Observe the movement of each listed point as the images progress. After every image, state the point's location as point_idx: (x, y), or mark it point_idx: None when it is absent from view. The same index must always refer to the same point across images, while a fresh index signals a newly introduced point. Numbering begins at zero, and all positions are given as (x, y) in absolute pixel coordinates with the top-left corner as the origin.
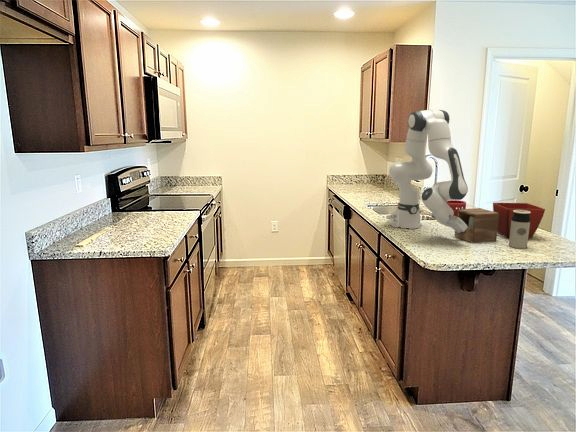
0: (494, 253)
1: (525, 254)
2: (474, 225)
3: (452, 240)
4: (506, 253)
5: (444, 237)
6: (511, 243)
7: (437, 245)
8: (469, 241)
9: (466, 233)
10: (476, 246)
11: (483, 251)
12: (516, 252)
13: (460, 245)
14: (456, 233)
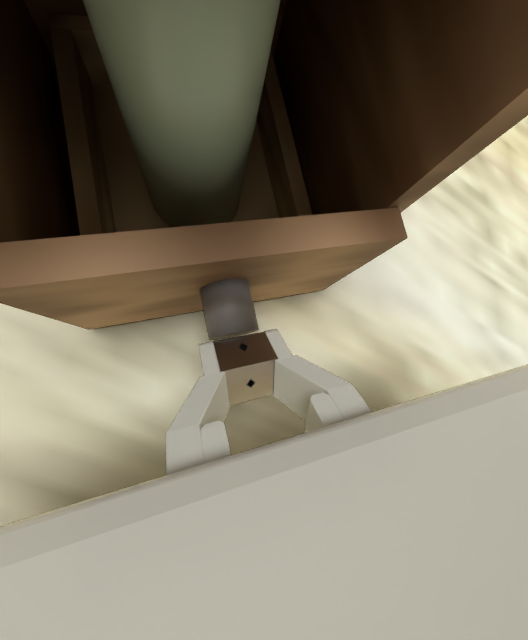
0: (525, 270)
1: (519, 129)
2: (445, 170)
3: (231, 410)
4: (516, 206)
5: (103, 452)
6: None
7: None
8: (310, 291)
9: (285, 279)
10: (401, 295)
11: (499, 312)
12: (494, 145)
13: (382, 405)
14: (108, 318)
